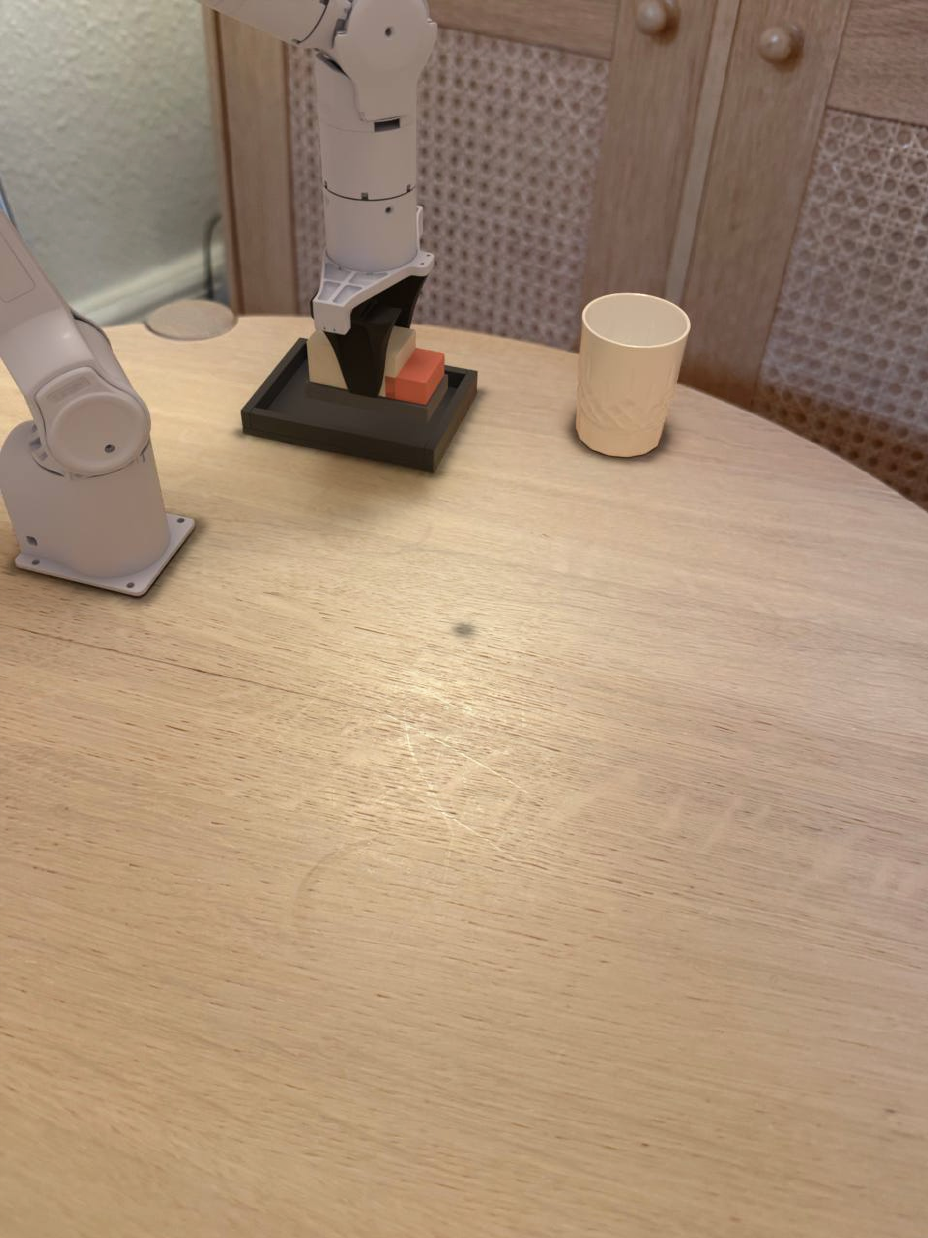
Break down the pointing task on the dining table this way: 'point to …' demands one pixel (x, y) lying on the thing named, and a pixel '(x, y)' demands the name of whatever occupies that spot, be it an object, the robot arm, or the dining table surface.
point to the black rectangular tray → (354, 418)
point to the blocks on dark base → (406, 381)
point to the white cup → (628, 371)
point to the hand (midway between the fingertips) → (375, 376)
